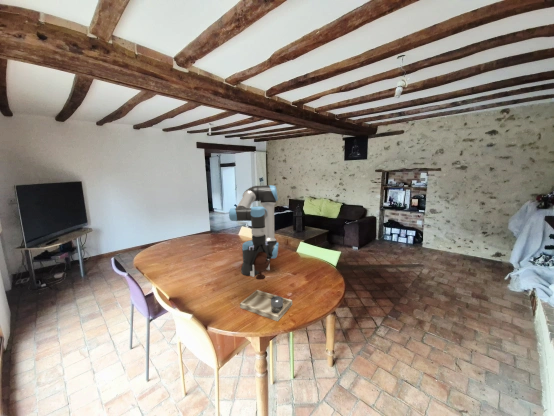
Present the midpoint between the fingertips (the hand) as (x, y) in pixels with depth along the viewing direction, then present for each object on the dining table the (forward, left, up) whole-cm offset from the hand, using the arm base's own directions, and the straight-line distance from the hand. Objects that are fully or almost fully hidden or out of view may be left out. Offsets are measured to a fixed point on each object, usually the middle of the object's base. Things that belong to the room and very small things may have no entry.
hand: (260, 272), depth 127 cm
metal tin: (+13, -4, -17) cm, 21 cm away
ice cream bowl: (0, 0, -3) cm, 3 cm away
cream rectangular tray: (+6, -4, -18) cm, 19 cm away
